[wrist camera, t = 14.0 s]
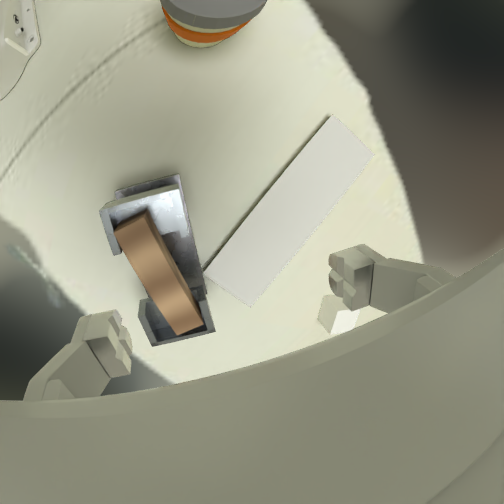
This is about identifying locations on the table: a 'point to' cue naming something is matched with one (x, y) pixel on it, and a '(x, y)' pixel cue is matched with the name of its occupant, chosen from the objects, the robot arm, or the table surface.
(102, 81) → the table surface
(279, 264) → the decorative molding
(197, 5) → the reusable coffee cup
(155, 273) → the rail
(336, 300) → the white cube
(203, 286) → the bracket stand
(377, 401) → the robot arm
